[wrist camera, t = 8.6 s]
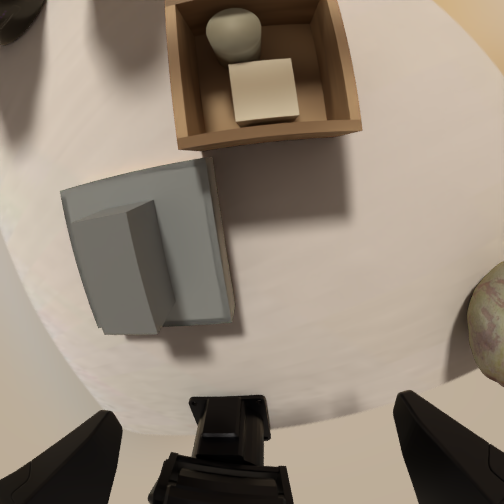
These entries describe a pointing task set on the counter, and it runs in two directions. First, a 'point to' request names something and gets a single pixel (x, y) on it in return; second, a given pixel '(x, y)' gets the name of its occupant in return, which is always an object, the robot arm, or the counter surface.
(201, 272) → the lid
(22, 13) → the supplement bottle
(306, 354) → the counter surface
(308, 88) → the storage box
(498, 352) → the fruit
